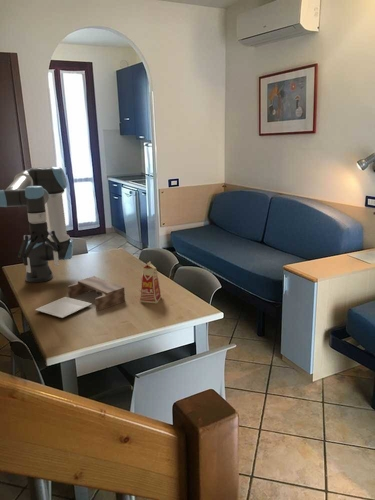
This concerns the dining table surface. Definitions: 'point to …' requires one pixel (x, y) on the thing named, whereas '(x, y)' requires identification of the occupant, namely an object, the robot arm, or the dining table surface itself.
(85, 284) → the overhang shelf
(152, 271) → the milk carton
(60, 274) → the dining table surface
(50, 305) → the plate
